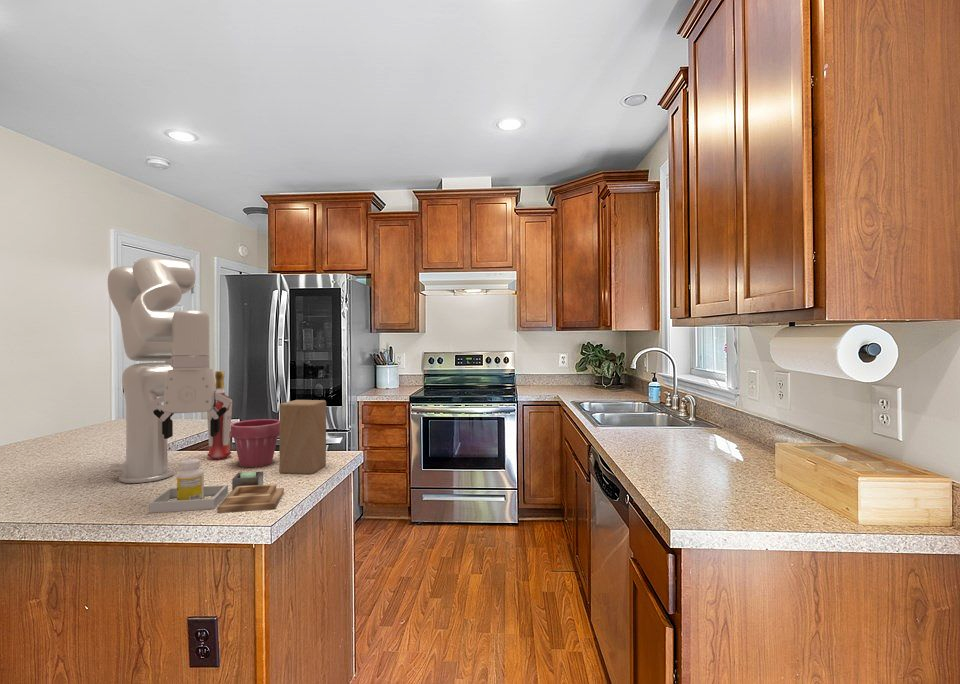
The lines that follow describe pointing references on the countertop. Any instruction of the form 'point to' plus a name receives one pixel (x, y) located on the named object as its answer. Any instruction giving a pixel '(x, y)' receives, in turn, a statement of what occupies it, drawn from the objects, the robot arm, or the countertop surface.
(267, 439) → the plant pot
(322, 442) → the wooden block
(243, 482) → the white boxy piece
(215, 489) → the frame
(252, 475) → the button
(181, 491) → the supplement bottle
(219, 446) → the liquor
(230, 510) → the brown wooden square tray
